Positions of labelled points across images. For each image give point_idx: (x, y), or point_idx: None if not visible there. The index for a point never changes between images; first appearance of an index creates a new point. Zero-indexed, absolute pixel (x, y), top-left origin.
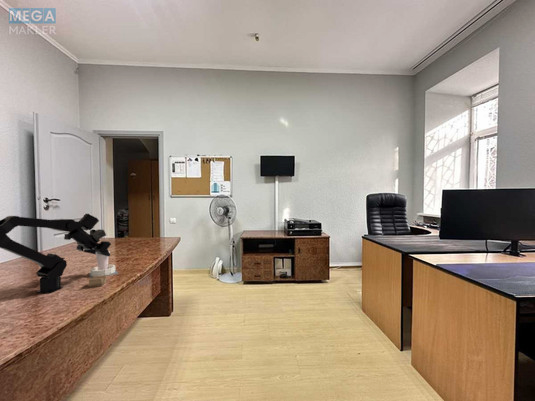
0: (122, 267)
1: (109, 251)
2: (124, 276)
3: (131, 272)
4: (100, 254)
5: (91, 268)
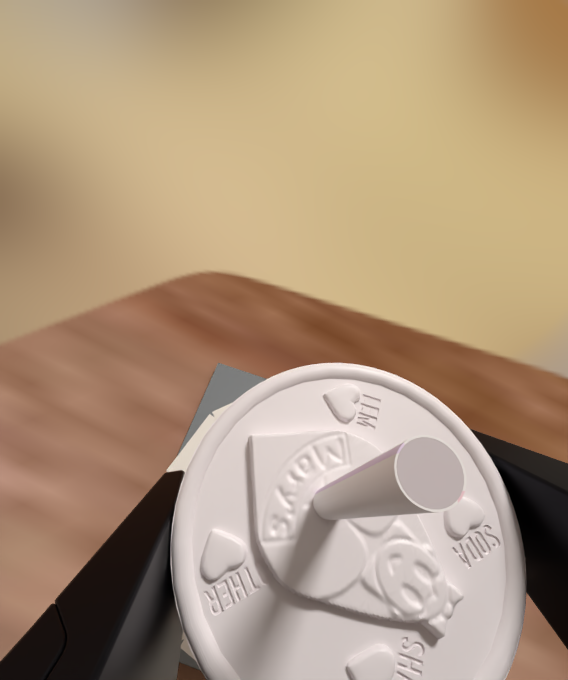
0: (234, 304)
1: (421, 390)
2: (550, 447)
3: (467, 351)
4: (482, 659)
5: (184, 650)
